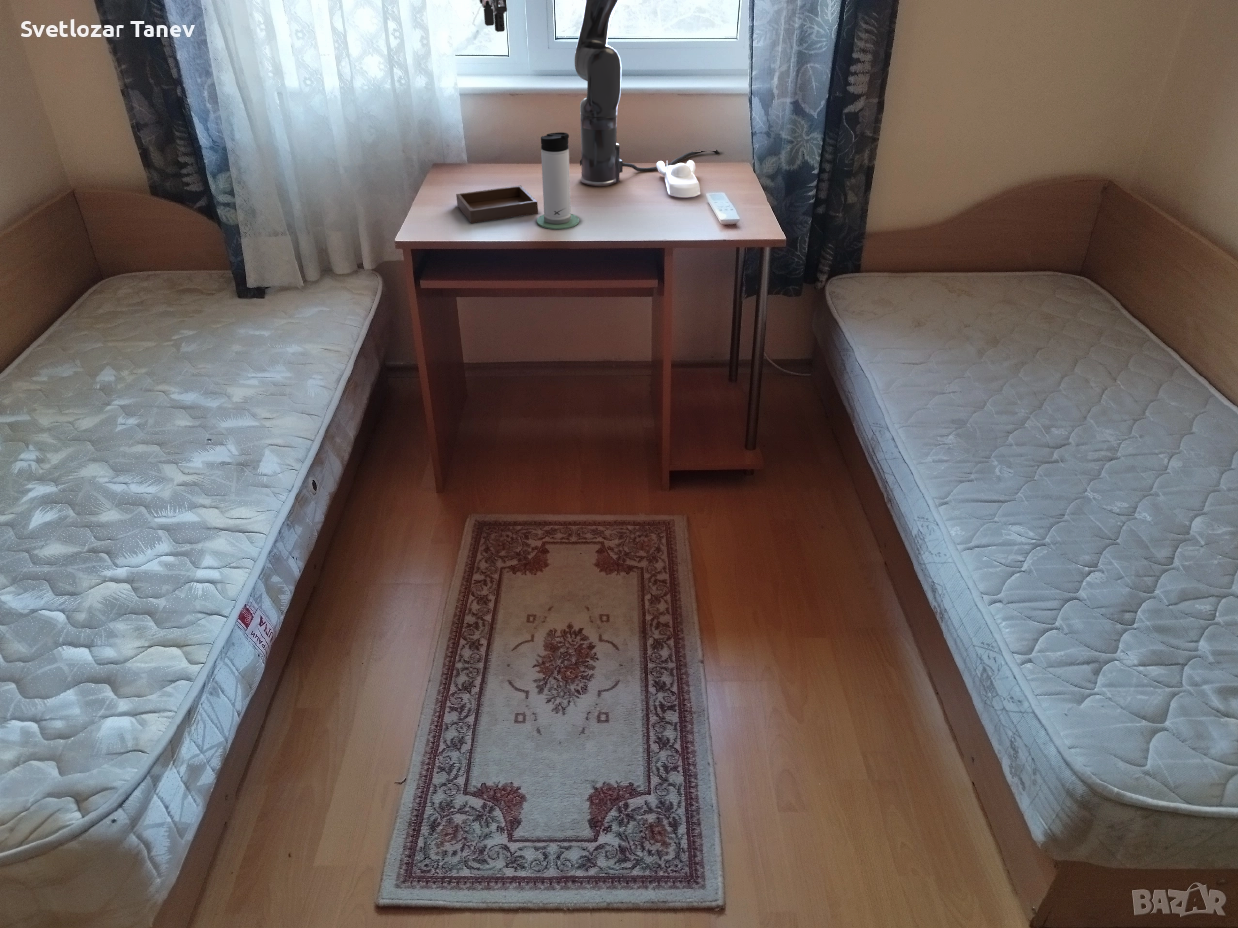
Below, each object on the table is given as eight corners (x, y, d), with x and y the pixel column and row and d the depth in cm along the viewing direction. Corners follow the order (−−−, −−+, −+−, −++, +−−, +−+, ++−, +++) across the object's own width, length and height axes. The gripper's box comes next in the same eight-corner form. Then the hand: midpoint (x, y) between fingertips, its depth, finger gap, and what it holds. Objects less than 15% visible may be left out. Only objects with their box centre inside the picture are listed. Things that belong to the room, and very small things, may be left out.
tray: (521, 197, 220) (520, 185, 218) (538, 213, 210) (537, 201, 209) (457, 206, 214) (456, 194, 213) (471, 223, 205) (470, 211, 203)
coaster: (570, 211, 212) (570, 210, 211) (585, 225, 204) (585, 224, 204) (531, 217, 208) (531, 215, 208) (545, 232, 201) (545, 230, 201)
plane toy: (664, 200, 218) (665, 177, 215) (655, 174, 234) (656, 152, 231) (706, 199, 219) (707, 176, 216) (694, 173, 235) (695, 151, 232)
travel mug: (562, 227, 202) (559, 138, 191) (539, 221, 205) (534, 134, 193) (577, 218, 207) (575, 132, 195) (554, 213, 209) (551, 127, 198)
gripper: (514, -47, 196) (518, 32, 206) (495, -53, 207) (500, 22, 217) (482, -45, 194) (488, 35, 204) (465, -52, 205) (471, 24, 214)
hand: (494, 28), depth 210 cm, fingers open, 8 cm apart
